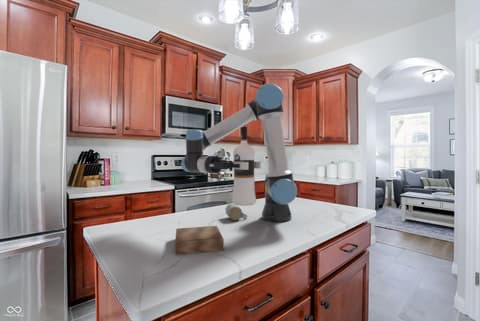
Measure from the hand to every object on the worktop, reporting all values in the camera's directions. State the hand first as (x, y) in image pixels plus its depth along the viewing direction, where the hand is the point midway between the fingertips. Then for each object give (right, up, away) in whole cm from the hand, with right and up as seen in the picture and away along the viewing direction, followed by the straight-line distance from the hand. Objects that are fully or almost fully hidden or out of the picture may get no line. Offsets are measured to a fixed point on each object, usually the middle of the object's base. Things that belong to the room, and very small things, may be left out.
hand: (254, 165), depth 92 cm
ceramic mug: (-7, -28, +34) cm, 44 cm away
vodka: (-4, -15, +3) cm, 16 cm away
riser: (-21, -29, -3) cm, 36 cm away
